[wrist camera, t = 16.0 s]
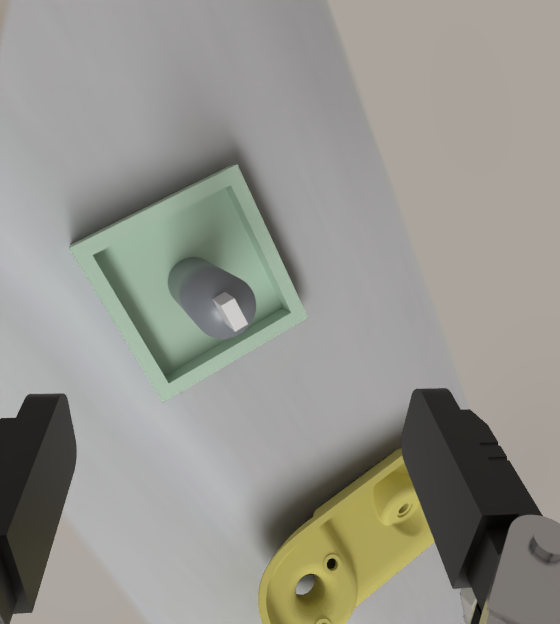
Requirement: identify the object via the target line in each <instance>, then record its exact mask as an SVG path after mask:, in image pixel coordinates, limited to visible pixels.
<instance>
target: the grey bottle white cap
mask: <svg viewBox="0 0 560 624" xmlns="http://www.w3.org/2000/svg"><path fill="white" fill-rule="evenodd" d="M168 289H169V292H170V294H171V296H172V297H173V299H174V300H175V301H176V302H177V303H178V304H179V305H180V307H181V308H182V309H183V310H184V311H185V312H186V313H187V315H188V316H189V317H190V318H191V319H192V320H193V321H194V322H195V324H196V325H197V326H198V327H199V328H200V329H201V330H202V331H203V332H204V333H205V334H207V335H208V336H210V337H213V338H217V339H229V338H233V337H236V336H238V335H240V334H241V333H243V332H244V331H245V330H246V329H247V328H248V327H249V326H250V324H251V323H252V321H253V319H254V316H255V312H256V299H255V295H254V293H253V291H252V289H251V288H250V286H249V285H248V284H247V283H246V282H245V281H243V280H242V279H240V278H238V277H236V276H234V275H232V274H230V273H229V272H227V271H225V270H223V269H221V268H219V267H217V266H215V265H213V264H212V263H210V262H208V261H206V260H204V259H201V258H197V257H190V258H186V259H183V260H181V261H180V262H178V263H177V264H176V265H175V266H174V267H173V268H172V270H171V272H170V274H169V277H168Z"/></svg>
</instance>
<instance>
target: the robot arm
mask: <svg viewBox="0 0 560 624" xmlns="http://www.w3.org/2000/svg"><path fill="white" fill-rule="evenodd" d="M401 449H402V456H403V460H404V463H405V466H406V468H407V471H408V473H409V476H410V479H411V481H412V484H413V486H414V489H415V492H416V494H417V497H418V499H419V502H420V505H421V507H422V510H423V512H424V515H425V518H426V520H427V523H428V525H429V528H430V531H431V533H432V536H433V538H434V541H435V544H436V546H437V549H438V551H439V554H440V557H441V559H442V562H443V564H444V567H445V570H446V572H447V575H448V577H449V580H450V583H451V585H452V588H453V589H457V588H472V590H473V593H474V595H475V597H476V600H477V601H476V603H475V605H474V607H473V611H472V614H471V617H470V620H469V624H560V524H559V523H558V522H556V521H554V520H552V519H549V518H546V517H543V515H542V514H541V512H540V511H539V509H538V507H537V506H536V504H535V502H534V501H533V499H532V497H531V496H530V494H529V493H528V491H527V489H526V488H525V486H524V484H523V483H522V481H521V479H520V478H519V476H518V475H517V473H516V471H515V469H514V468H513V466H512V464H511V463H510V461H507V456H506V454H505V453H504V451H503V449H502V448H501V446H498V441H497V440H496V438H495V436H494V435H493V433H492V431H491V430H490V428H489V426H488V425H487V424H486V423H485V422H484V421H483V420H481V419H480V418H479V417H478V416H477V415H476V414H474V413H473V412H472V411H471V410H460V408H459V406H458V404H457V403H456V401H455V399H454V397H453V395H452V394H451V392H450V391H449V390H448V389H446V388H438V389H415V390H414V391H413V393H412V396H411V400H410V404H409V408H408V412H407V416H406V420H405V424H404V428H403V432H402V438H401ZM76 452H77V450H76V440H75V435H74V430H73V425H72V420H71V414H70V409H69V404H68V400H67V397H66V395H65V394H29V395H27V396H26V398H25V400H24V402H23V404H22V406H21V408H20V410H19V412H18V415H17V417H16V418H1V419H0V624H10V621H11V618H12V615H13V614H17V613H32V611H33V608H34V605H35V601H36V598H37V595H38V591H39V588H40V584H41V581H42V578H43V574H44V571H45V568H46V564H47V561H48V558H49V554H50V551H51V547H52V544H53V540H54V537H55V534H56V531H57V527H58V524H59V520H60V517H61V514H62V510H63V507H64V504H65V500H66V497H67V494H68V490H69V487H70V483H71V480H72V477H73V473H74V470H75V464H76Z"/></svg>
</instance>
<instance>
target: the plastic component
mask: <svg viewBox="0 0 560 624" xmlns="http://www.w3.org/2000/svg"><path fill="white" fill-rule="evenodd" d="M434 542H435V541H434V538H433V536H432V533H431V531H430V528H429V525H428V523H427V520H426V518H425V515H424V512H423V510H422V507H421V505H420V502H419V499H418V497H417V494H416V492H415V489H414V486H413V484H412V481H411V479H410V476H409V473H408V471H407V468H406V466H405V463H404V460H403V456H402V449H401V448H399V449H397V450H396V451H394V452H393V453H392V454H390V455H389V456H388V457H386V458H385V459H384V460H382V461H381V462H379V463H378V464H377V465H375V466H374V467H373V468H371V469H370V470H369V471H367V472H366V473H365V474H363V475H362V476H361V477H359V478H358V479H357V480H355V481H354V482H353V483H351V484H350V485H349V486H347V487H346V488H344V489H343V490H342V491H340V492H339V493H338V494H336V495H335V496H334V497H332V498H331V499H330V500H328V501H327V502H326V503H324V504H323V505H322V506H320V507H319V508H318V509H316V510H315V512H314V514H313V517H312V518H311V519H310V520H308V521H307V522H306V523H304V524H303V525H302V526H301V527H299V528H298V529H297V530H296V531H295V532H294V533H293V534H292V535H291V536H290V537H289V538H288V539H287V540H286V541H285V542H284V544H283V545H282V546H281V547H280V549H279V550H278V551H277V552H276V554H275V555H274V556H273V558H272V559H271V561H270V562H269V564H268V566H267V568H266V570H265V572H264V574H263V576H262V579H261V583H260V587H259V612H260V617H261V620H262V623H263V624H321V623H322V624H345V623H346V622H347V621H348V619H349V618H350V616H351V615H352V613H353V611H354V609H355V608H356V607H357V606H358V605H359V604H360V603H361V602H362V601H364V600H365V599H366V598H367V597H368V596H370V595H371V594H372V593H373V592H375V591H376V590H377V589H378V588H379V587H381V586H382V585H383V584H384V583H385V582H387V581H388V580H389V579H390V578H391V577H393V576H394V575H395V574H396V573H397V572H399V571H400V570H401V569H402V568H404V567H405V566H406V565H407V564H408V563H410V562H411V561H412V560H413V559H414V558H416V557H417V556H418V555H419V554H420V553H422V552H423V551H424V550H425V549H426V548H428V547H429V546H430V545H431V544H432V543H434ZM331 558H333V559H335V561H336V564H335V566H334V568H332V569H328V568H327V562H328V560H329V559H331ZM307 574H314V576H315V583H314V586H313V588H312V589H311V590H310V591H309V592H308V593H306V594H304V595H299V594H296V586H297V583H298V581H299V580H300V579H301V578H302V577H303V576H305V575H307Z"/></svg>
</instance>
